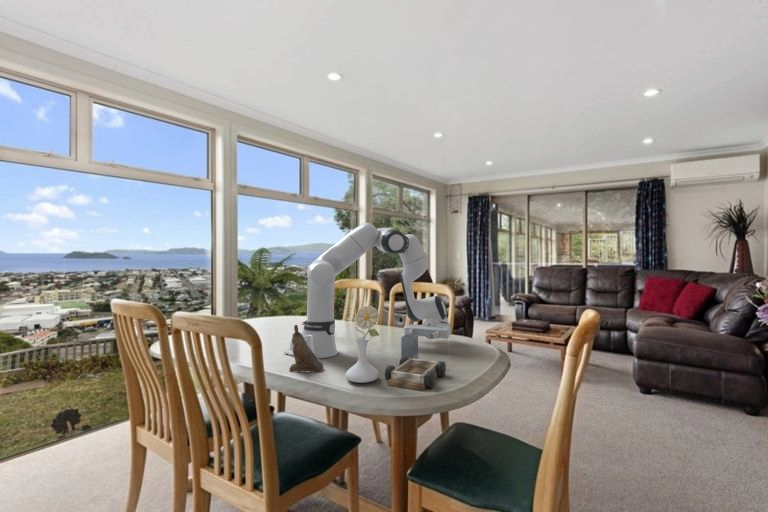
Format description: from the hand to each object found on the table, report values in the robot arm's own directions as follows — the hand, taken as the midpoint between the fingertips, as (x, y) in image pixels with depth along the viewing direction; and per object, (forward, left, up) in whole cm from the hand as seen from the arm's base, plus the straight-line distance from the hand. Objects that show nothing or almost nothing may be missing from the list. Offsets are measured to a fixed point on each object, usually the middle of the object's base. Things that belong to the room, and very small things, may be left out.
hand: (421, 334), depth 156 cm
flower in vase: (-6, -39, -8) cm, 40 cm away
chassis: (+9, -29, -8) cm, 32 cm away
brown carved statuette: (-30, -37, -8) cm, 49 cm away
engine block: (0, -12, -8) cm, 15 cm away
